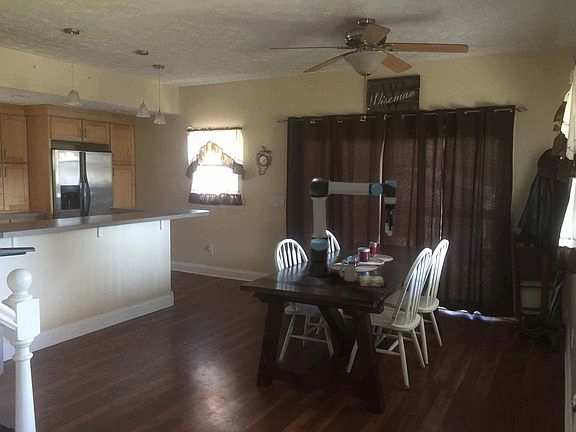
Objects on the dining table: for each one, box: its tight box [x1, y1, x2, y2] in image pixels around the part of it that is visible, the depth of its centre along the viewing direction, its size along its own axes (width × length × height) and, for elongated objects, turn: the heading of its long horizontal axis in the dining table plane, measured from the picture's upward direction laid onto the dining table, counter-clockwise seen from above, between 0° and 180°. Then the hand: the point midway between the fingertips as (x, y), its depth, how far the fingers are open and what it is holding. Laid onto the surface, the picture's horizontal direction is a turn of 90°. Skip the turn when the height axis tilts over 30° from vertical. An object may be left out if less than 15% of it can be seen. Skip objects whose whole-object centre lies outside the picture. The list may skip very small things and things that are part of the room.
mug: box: [338, 260, 357, 282], centre depth 309 cm, size 8×12×12 cm, turn 53°
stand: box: [359, 275, 385, 288], centre depth 301 cm, size 14×14×3 cm
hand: (388, 234), depth 328 cm, fingers open, 13 cm apart
